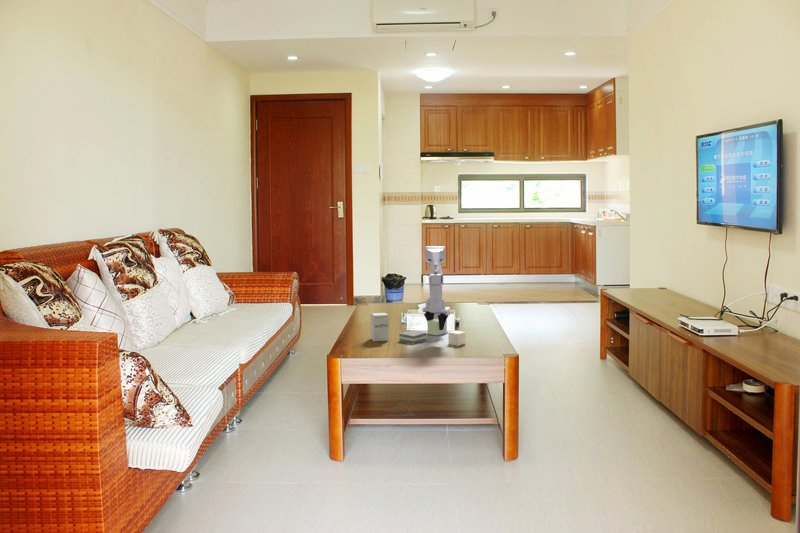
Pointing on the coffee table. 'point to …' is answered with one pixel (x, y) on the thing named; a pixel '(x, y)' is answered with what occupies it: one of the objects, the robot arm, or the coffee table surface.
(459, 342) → the cream block
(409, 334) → the grey striped square box
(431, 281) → the robot arm
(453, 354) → the coffee table surface
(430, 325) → the sage block
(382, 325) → the supplement box
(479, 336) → the coffee table surface
